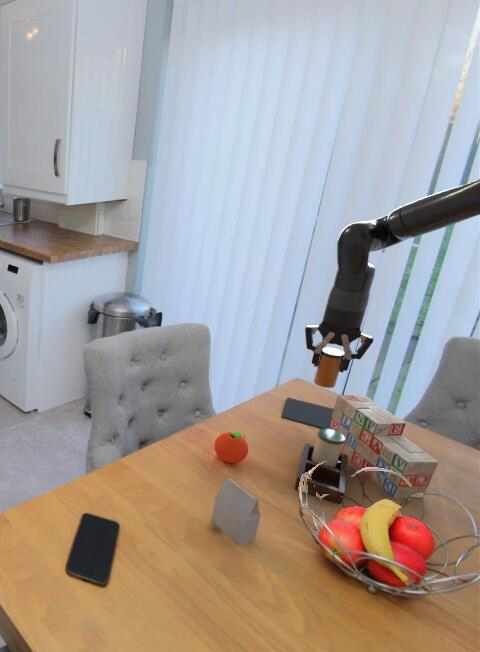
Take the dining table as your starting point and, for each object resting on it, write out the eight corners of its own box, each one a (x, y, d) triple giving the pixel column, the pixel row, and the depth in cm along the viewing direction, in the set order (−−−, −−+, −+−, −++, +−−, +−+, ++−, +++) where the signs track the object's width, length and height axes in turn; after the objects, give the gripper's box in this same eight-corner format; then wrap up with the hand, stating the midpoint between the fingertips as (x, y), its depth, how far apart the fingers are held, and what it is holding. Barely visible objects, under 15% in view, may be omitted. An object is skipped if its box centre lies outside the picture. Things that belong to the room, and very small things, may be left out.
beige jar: (335, 467, 108) (345, 433, 104) (333, 478, 104) (344, 444, 101) (309, 459, 110) (319, 426, 107) (307, 470, 107) (317, 436, 104)
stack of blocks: (424, 499, 98) (444, 449, 94) (392, 499, 98) (411, 449, 94) (350, 437, 118) (364, 393, 113) (324, 437, 118) (337, 394, 114)
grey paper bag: (239, 546, 89) (249, 503, 85) (211, 520, 95) (219, 479, 91) (254, 540, 90) (265, 498, 86) (225, 515, 96) (234, 475, 92)
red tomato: (227, 446, 116) (232, 421, 114) (255, 461, 111) (261, 436, 108) (205, 456, 113) (210, 431, 110) (232, 473, 107) (238, 447, 105)
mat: (349, 414, 127) (349, 412, 127) (347, 436, 118) (347, 434, 118) (287, 399, 135) (287, 397, 135) (280, 418, 127) (281, 416, 126)
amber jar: (336, 382, 123) (345, 350, 120) (335, 390, 120) (344, 357, 117) (313, 377, 126) (322, 345, 123) (311, 384, 123) (320, 352, 119)
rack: (344, 467, 108) (347, 455, 107) (340, 506, 97) (344, 493, 96) (301, 454, 113) (305, 442, 111) (293, 490, 102) (297, 477, 101)
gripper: (309, 304, 116) (293, 366, 123) (385, 315, 108) (364, 382, 115) (311, 295, 122) (296, 356, 128) (384, 306, 114) (364, 370, 120)
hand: (328, 368), depth 121 cm, fingers closed on amber jar, 4 cm apart
